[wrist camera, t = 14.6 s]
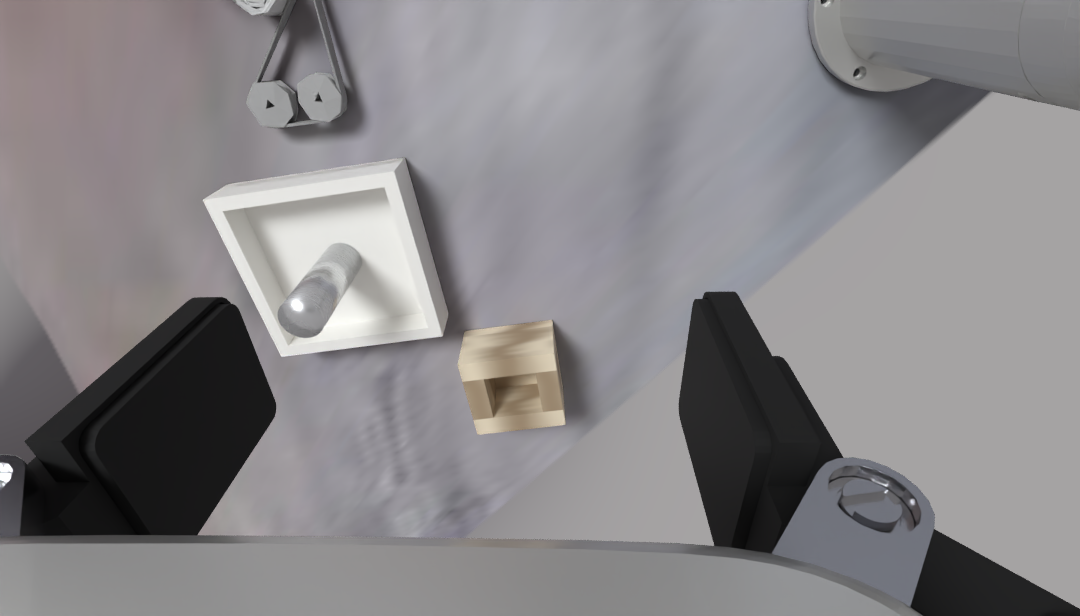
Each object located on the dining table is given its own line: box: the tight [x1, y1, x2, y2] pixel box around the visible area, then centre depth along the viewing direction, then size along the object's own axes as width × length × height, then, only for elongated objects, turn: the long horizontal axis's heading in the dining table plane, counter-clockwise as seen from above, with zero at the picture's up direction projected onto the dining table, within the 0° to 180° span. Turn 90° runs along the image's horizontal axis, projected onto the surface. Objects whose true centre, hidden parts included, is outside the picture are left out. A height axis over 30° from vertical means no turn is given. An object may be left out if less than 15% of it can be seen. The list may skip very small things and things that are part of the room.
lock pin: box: [277, 243, 362, 338], centre depth 39 cm, size 3×3×9 cm
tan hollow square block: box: [458, 320, 566, 435], centre depth 47 cm, size 8×8×5 cm
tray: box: [203, 157, 449, 357], centre depth 42 cm, size 14×14×4 cm
